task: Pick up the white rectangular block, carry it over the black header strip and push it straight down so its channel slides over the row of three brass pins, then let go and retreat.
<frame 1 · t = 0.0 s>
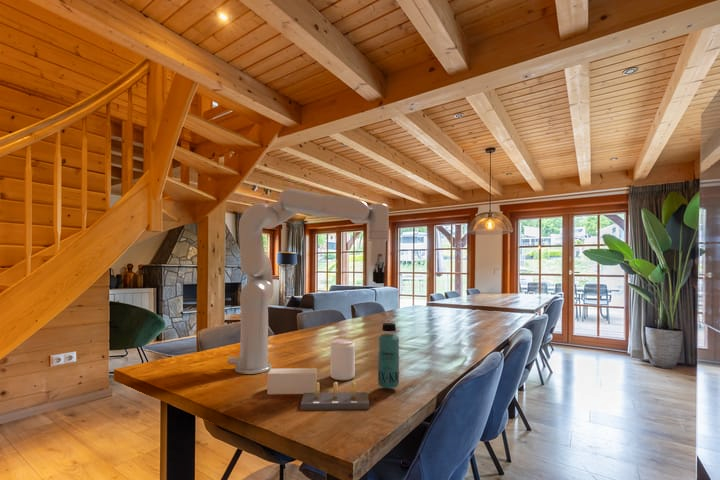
hand: (378, 282, 132), 31 cm above the table, tool pointing down, fingers open, 9 cm apart
white rectangular block: (292, 391, 106), on the table
beverage bottle: (388, 390, 108), on the table
beverage can: (342, 378, 119), on the table
header: (335, 403, 97), on the table
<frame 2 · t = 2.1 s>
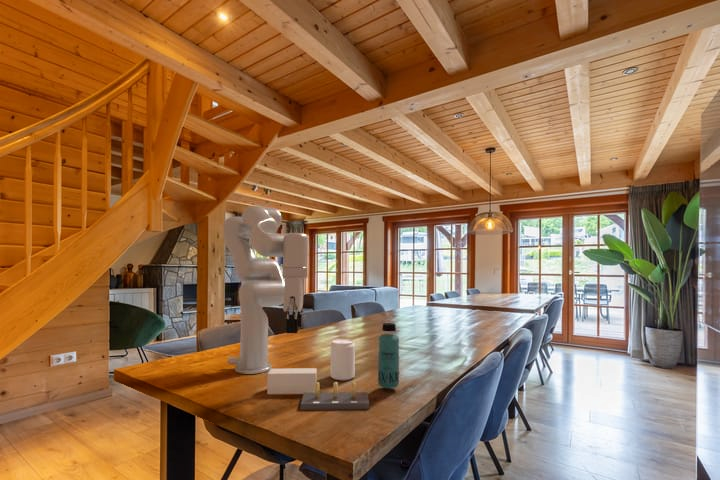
hand: (294, 329, 107), 18 cm above the table, tool pointing down, fingers open, 9 cm apart
nothing on the table moved.
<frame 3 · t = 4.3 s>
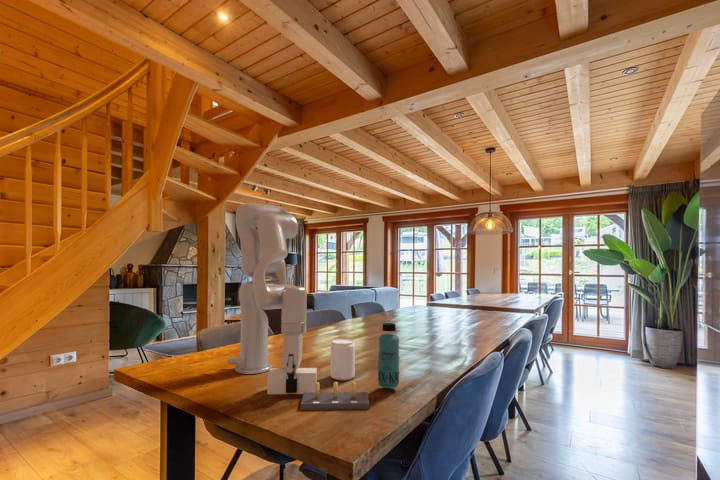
hand: (292, 388, 106), 1 cm above the table, tool pointing down, fingers closed on white rectangular block, 5 cm apart
white rectangular block: (292, 390, 106), on the table, touching gripper
everything else where it was.
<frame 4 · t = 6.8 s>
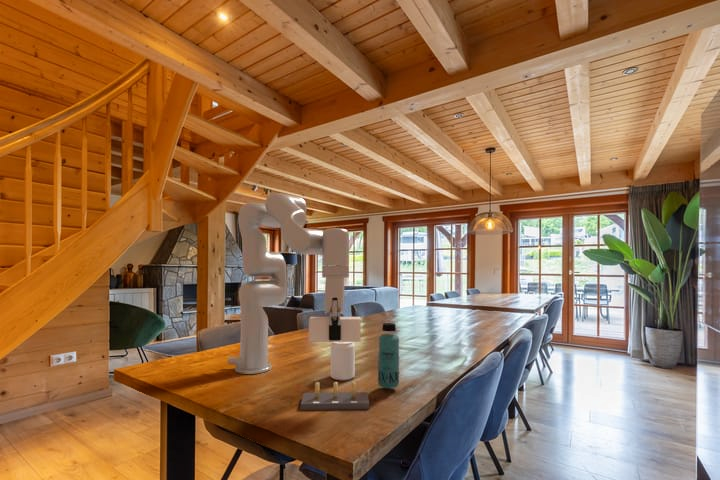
hand: (335, 337, 98), 18 cm above the table, tool pointing down, fingers closed on white rectangular block, 5 cm apart
white rectangular block: (334, 339, 98), point 17 cm above the table, touching gripper
everything else where it was.
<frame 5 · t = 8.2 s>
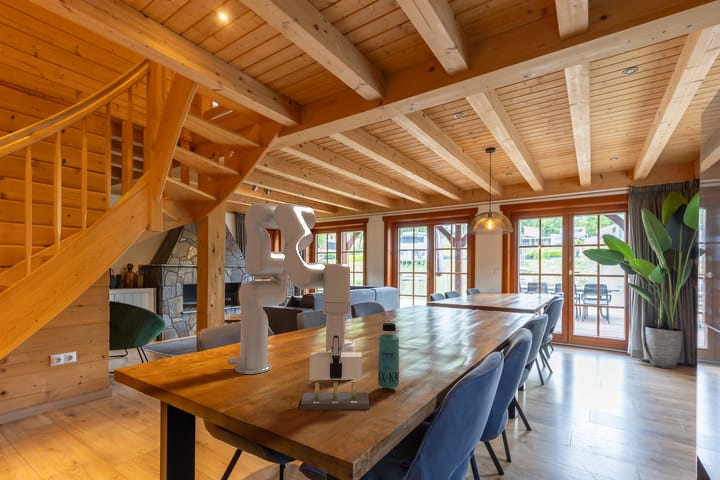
hand: (336, 374, 97), 8 cm above the table, tool pointing down, fingers closed on white rectangular block, 5 cm apart
white rectangular block: (336, 376, 97), point 7 cm above the table, touching gripper
everything else where it was.
when the fingers open (3 cm above the table, at t = 9.5 s): white rectangular block stays where it is, resting on header.
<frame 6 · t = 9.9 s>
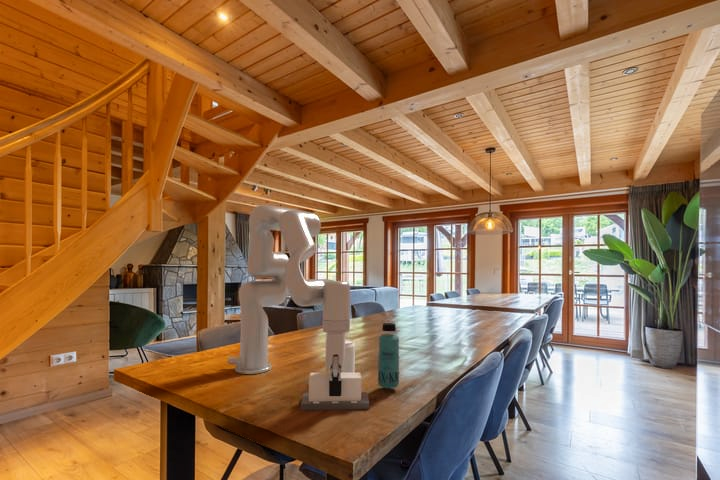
hand: (335, 389, 97), 4 cm above the table, tool pointing down, fingers open, 8 cm apart
white rectangular block: (335, 397, 97), point 1 cm above the table, touching header
everything else where it was.
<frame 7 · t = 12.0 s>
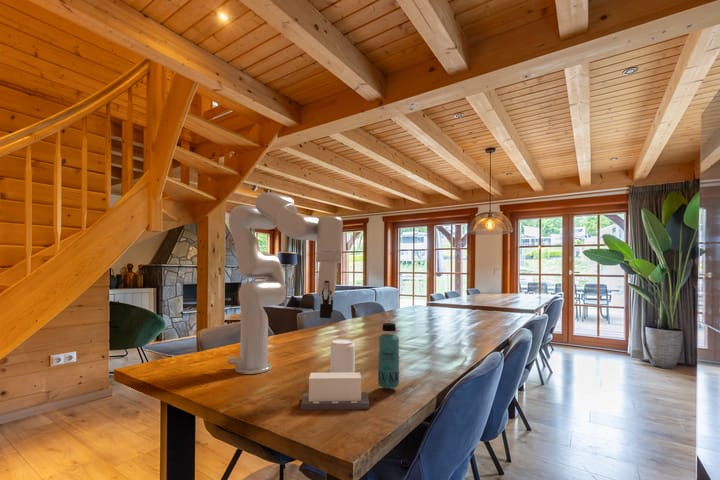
hand: (326, 314, 105), 23 cm above the table, tool pointing down, fingers open, 9 cm apart
nothing on the table moved.
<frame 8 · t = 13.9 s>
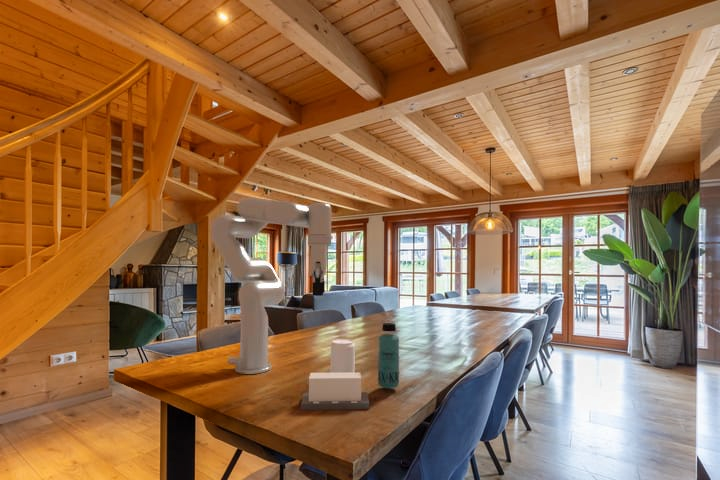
hand: (318, 294, 114), 28 cm above the table, tool pointing down, fingers open, 9 cm apart
nothing on the table moved.
at the end: white rectangular block 0.1 cm off-centre on the header, point 1.5 cm above the header's base; white rectangular block tilted 0°; the gripper is holding nothing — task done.
